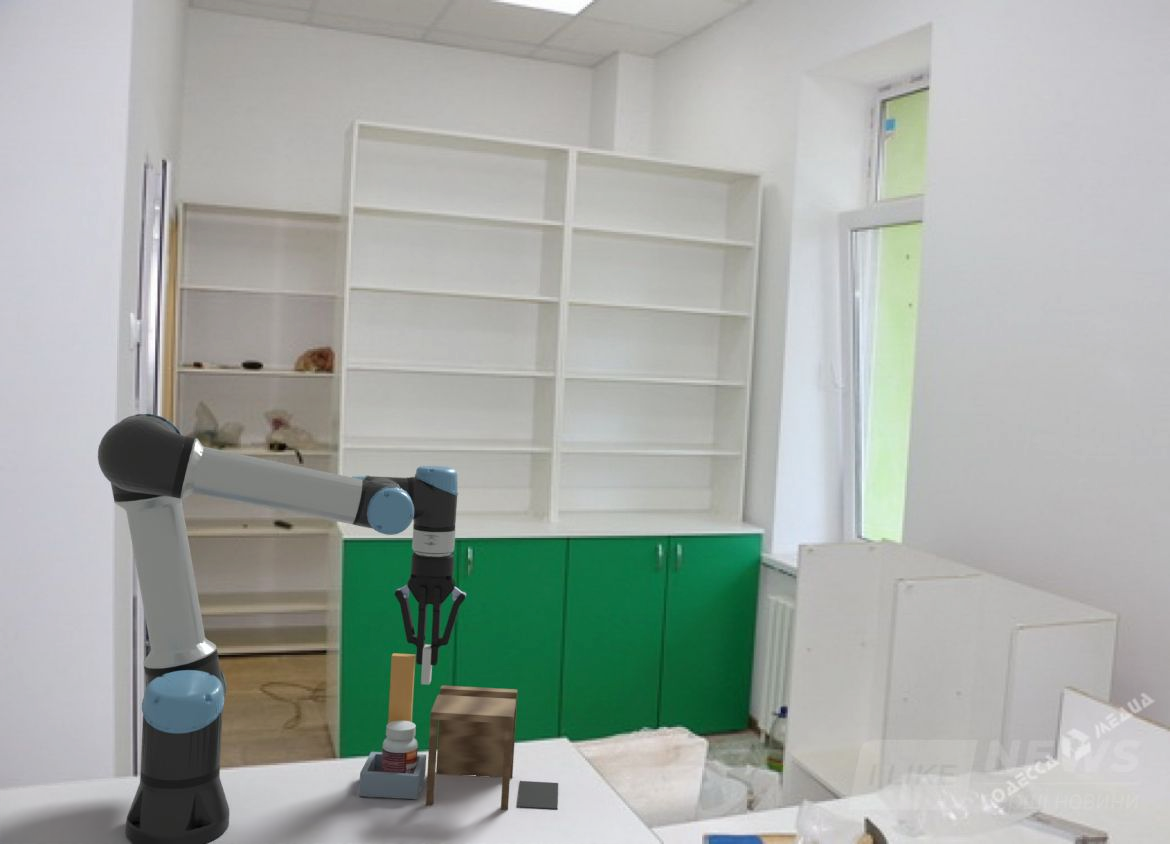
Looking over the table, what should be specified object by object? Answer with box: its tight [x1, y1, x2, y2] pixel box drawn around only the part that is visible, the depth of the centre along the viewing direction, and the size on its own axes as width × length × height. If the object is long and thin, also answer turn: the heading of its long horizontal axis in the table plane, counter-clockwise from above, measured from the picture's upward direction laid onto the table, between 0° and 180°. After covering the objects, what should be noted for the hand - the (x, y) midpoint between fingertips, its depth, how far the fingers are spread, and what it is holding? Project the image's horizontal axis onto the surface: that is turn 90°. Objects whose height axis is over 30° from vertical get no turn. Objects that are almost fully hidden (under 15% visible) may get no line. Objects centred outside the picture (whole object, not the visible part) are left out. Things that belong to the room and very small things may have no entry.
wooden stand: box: [425, 685, 519, 811], centre depth 183 cm, size 14×15×16 cm
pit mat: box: [516, 780, 559, 810], centre depth 183 cm, size 7×11×1 cm, turn 1°
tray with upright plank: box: [358, 652, 427, 800], centre depth 182 cm, size 10×10×22 cm
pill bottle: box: [381, 721, 419, 774], centre depth 182 cm, size 6×6×11 cm
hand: (426, 682), depth 186 cm, fingers closed
